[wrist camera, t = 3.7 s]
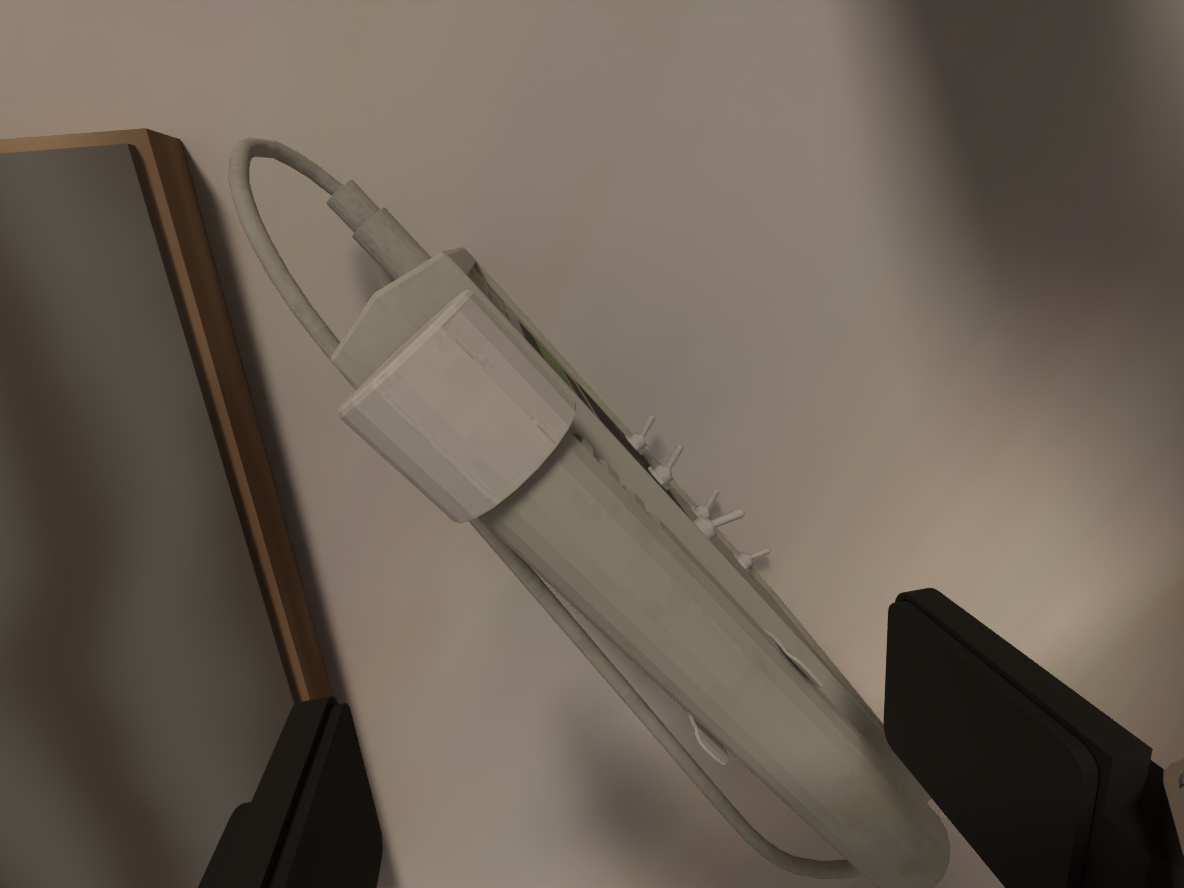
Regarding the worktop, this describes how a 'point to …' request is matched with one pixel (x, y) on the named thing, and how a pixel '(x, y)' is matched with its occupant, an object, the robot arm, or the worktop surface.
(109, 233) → the brown wooden board
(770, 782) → the geiger counter
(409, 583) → the worktop surface
